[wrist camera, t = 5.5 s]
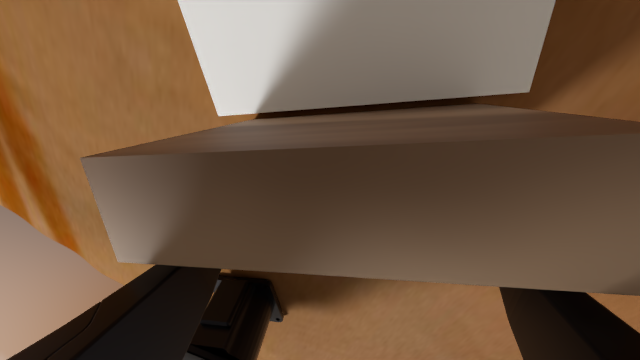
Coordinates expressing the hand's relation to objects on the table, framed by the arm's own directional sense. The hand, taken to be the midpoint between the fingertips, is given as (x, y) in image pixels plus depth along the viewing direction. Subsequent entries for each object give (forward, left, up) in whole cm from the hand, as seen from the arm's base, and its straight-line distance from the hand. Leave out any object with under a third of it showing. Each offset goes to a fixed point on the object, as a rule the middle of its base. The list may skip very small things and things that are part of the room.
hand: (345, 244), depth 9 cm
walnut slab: (0, 0, -8) cm, 8 cm away
